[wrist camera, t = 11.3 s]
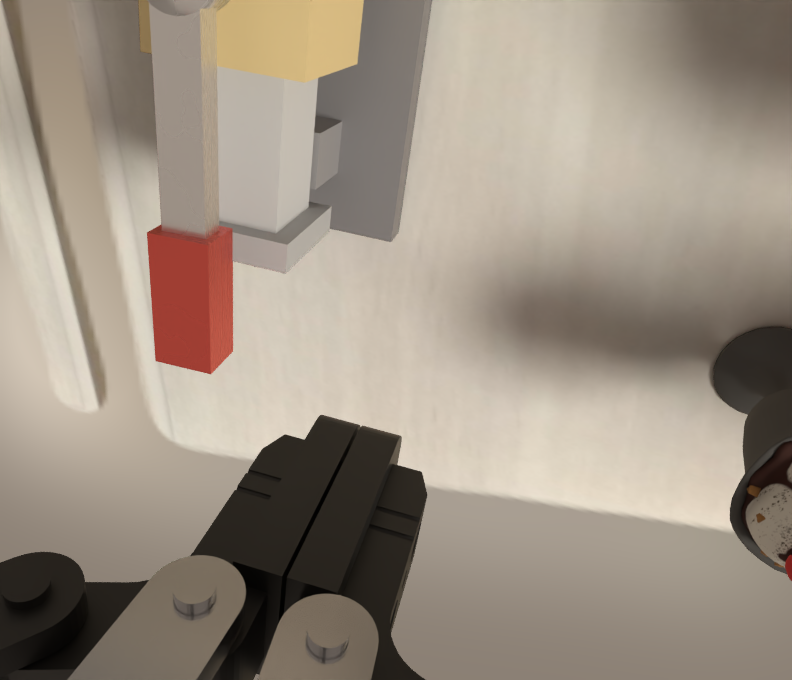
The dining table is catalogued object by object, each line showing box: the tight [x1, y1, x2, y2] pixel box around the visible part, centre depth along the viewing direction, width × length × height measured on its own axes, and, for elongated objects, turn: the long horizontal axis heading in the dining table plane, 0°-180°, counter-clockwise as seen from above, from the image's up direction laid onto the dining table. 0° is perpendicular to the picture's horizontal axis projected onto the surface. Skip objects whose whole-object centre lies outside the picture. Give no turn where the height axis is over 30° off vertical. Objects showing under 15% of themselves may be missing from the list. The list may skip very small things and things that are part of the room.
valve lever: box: [147, 0, 233, 374], centre depth 22 cm, size 14×3×2 cm, turn 173°
